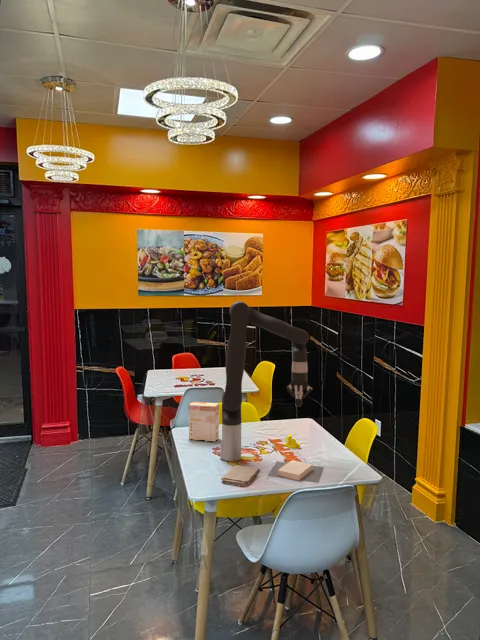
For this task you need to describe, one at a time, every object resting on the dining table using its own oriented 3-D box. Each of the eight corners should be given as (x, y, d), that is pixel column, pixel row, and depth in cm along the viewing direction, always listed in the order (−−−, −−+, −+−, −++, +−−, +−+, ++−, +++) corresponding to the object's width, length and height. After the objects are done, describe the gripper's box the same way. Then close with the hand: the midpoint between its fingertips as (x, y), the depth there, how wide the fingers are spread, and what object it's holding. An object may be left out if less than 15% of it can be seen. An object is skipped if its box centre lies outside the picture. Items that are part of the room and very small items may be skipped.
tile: (292, 465, 217) (277, 475, 205) (292, 460, 217) (277, 469, 205) (312, 470, 212) (298, 480, 200) (312, 464, 211) (298, 475, 200)
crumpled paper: (299, 450, 239) (300, 435, 239) (284, 449, 241) (284, 434, 240) (300, 446, 245) (300, 431, 245) (284, 445, 246) (284, 431, 246)
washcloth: (220, 484, 199) (220, 477, 198) (235, 469, 215) (235, 462, 215) (246, 488, 195) (246, 481, 194) (260, 472, 211) (260, 466, 211)
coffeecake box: (219, 438, 257) (219, 403, 255) (215, 442, 250) (215, 406, 249) (193, 436, 261) (193, 401, 259) (188, 440, 254) (188, 404, 252)
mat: (267, 477, 205) (267, 475, 205) (276, 463, 222) (276, 461, 222) (318, 484, 198) (318, 482, 198) (324, 468, 215) (324, 467, 215)
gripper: (284, 371, 225) (283, 407, 227) (312, 372, 221) (311, 409, 223) (287, 368, 232) (286, 403, 234) (314, 370, 228) (313, 405, 230)
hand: (298, 406), depth 228 cm, fingers closed
